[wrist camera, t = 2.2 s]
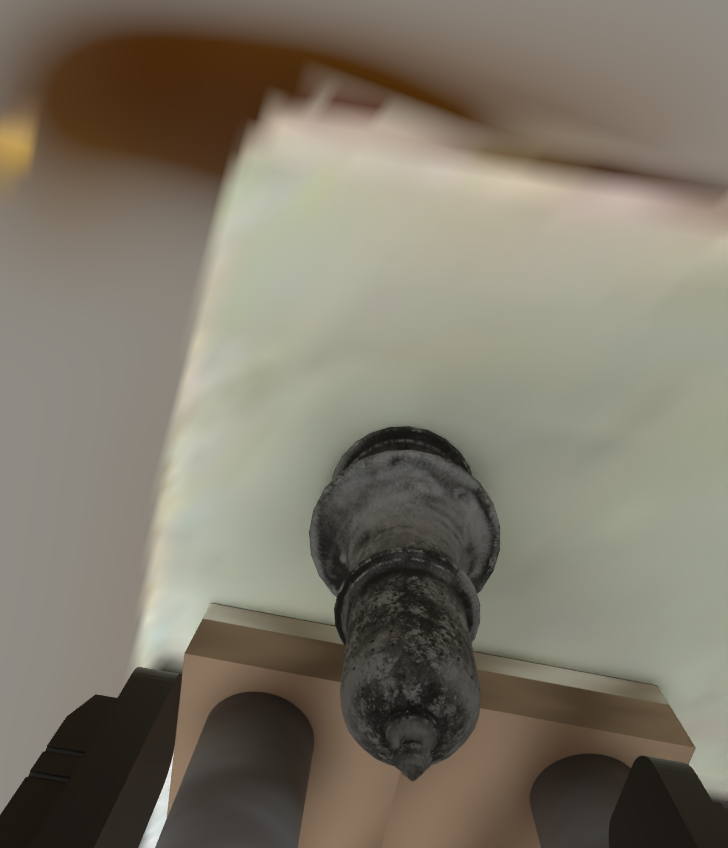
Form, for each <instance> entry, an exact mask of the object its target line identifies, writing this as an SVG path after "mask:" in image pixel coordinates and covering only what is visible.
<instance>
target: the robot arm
mask: <svg viewBox="0 0 728 848" xmlns="http://www.w3.org/2000/svg"><path fill="white" fill-rule="evenodd" d="M181 684H182V676H181V674H177V673H171V672H166V671H160V670H154V669H148V668H143V667H137V668H136V669H135V670H134V671H133V673H132V674H131V676H130V678H129V679H128V681H127V683H126V685H125V686H124V688H123V690H122V691H121V693H120V695H119V696H118V698H114V697H107V696H102V695H94V696H93V697H92V698H90V699H89V700H88V701H87V702H85V703H84V704H83V705H82V706H80V707H79V708H77V709H76V710H75V711H73V712H72V713H71V714H70V715H68V716H67V717H66V719H65V720H64V721H63V723H62V724H61V726H60V727H59V729H58V730H57V732H56V733H55V735H54V736H53V738H52V739H51V741H50V742H49V744H48V745H47V748H46V751H45V752H43V753H42V754H41V756H40V757H39V758H38V760H37V761H36V763H35V764H34V766H33V767H32V769H31V771H30V774H29V776H28V777H26V778H25V779H24V781H23V782H22V784H21V785H20V787H19V788H18V789H17V791H16V793H15V794H14V795H13V797H12V798H11V800H10V801H9V803H8V804H7V806H6V807H5V809H4V810H3V812H2V813H1V815H0V848H138V847H139V844H140V842H141V839H142V837H143V834H144V832H145V830H146V827H147V825H148V822H149V820H150V817H151V815H152V812H153V810H154V808H155V805H156V803H157V800H158V798H159V795H160V793H161V790H162V788H163V785H164V783H165V780H166V777H167V774H168V771H169V768H170V764H171V760H172V756H173V752H174V746H175V739H176V730H177V721H178V712H179V703H180V694H181ZM609 848H728V810H727V809H726V808H725V807H724V806H723V805H722V804H721V803H717V802H713V801H712V800H711V798H710V796H709V795H708V793H707V791H706V790H705V788H704V786H703V785H702V783H701V781H700V779H699V778H698V776H697V774H696V773H695V771H694V770H693V769H692V768H691V767H690V766H689V765H688V764H686V763H684V762H678V761H672V760H666V759H660V758H655V757H649V756H639V757H637V758H636V759H635V761H634V763H633V765H632V767H631V770H630V772H629V774H628V777H627V779H626V782H625V784H624V787H623V789H622V792H621V794H620V797H619V799H618V801H617V804H616V806H615V809H614V811H613V814H612V816H611V819H610V824H609Z"/></svg>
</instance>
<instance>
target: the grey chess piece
mask: <svg viewBox="0 0 728 848" xmlns="http://www.w3.org/2000/svg"><path fill="white" fill-rule="evenodd" d="M309 537H310V548H311V556H312V558H313V561H314V563H315V566H316V569H317V571H318V574H319V576H320V577H321V579H322V580H323V581H324V583H325V584H326V585H327V587H328V588H329V589H330V591H331V592H332V593H333V594H334V595H335V596H336V597H337V599H336V603H335V607H334V613H335V626H336V629H337V631H338V634H339V637H340V639H341V642H342V643H343V644H344V646H345V654H344V662H343V670H342V678H341V686H340V700H341V709H342V715H343V719H344V721H345V724H346V727H347V729H348V732H349V733H350V734H351V736H352V737H353V738H354V739H355V741H356V742H357V743H358V744H359V745H360V746H361V747H362V748H363V749H364V750H365V751H366V752H367V753H369V754H370V755H371V756H373V757H374V758H375V759H377V760H379V761H381V762H384V763H386V764H388V765H392V766H395V767H396V768H397V769H398V770H399V771H400V772H402V774H403V775H404V776H406V777H407V778H408V779H409V780H410V781H415V780H417V778H419V777H420V776H421V775H422V774H423V773H424V772H425V771H426V770H427V769H428V768H429V767H430V765H434V764H437V763H439V762H441V761H443V760H445V759H447V758H449V757H450V756H451V755H452V754H453V753H455V752H456V751H457V750H458V749H459V748H460V747H461V746H462V745H463V744H464V743H465V742H466V741H467V739H468V738H469V736H470V735H471V734H472V732H473V731H474V729H475V726H476V723H477V720H478V717H479V713H480V697H481V688H480V683H479V678H478V673H477V668H476V663H475V658H474V653H473V648H472V642H473V640H474V639H475V636H476V633H477V630H478V627H479V624H480V603H479V599H478V596H477V593H479V592H480V591H481V589H482V588H483V586H484V585H485V583H486V582H487V580H488V579H489V577H490V575H491V574H492V572H493V570H494V567H495V564H496V561H497V557H498V554H499V551H500V525H499V522H498V518H497V515H496V511H495V508H494V505H493V502H492V501H491V499H490V498H489V496H488V495H487V493H486V492H485V490H484V488H483V487H482V485H481V484H480V483H479V482H478V481H477V480H476V479H475V478H474V477H473V476H472V474H471V471H470V467H469V466H468V464H467V463H466V461H465V459H464V458H463V456H462V455H461V453H460V452H459V451H458V450H457V449H456V448H455V447H454V446H453V445H451V444H450V443H449V442H448V441H447V440H446V439H444V438H442V437H440V436H438V435H436V434H434V433H432V432H430V431H428V430H423V429H419V428H414V427H389V428H386V429H382V430H379V431H376V432H372V433H370V434H369V435H367V436H365V437H364V438H362V439H360V440H359V441H357V442H355V443H354V444H353V445H352V447H351V448H350V449H349V450H348V451H347V452H346V453H345V454H344V455H343V456H342V458H341V460H340V462H339V464H338V466H337V467H336V469H335V471H334V475H333V479H332V481H331V482H330V483H329V484H328V485H327V487H326V488H325V489H324V491H323V493H322V495H321V496H320V498H319V500H318V502H317V504H316V506H315V508H314V510H313V515H312V520H311V526H310V531H309Z"/></svg>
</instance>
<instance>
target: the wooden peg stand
mask: <svg viewBox="0 0 728 848" xmlns="http://www.w3.org/2000/svg"><path fill="white" fill-rule="evenodd" d="M473 653H474V658H475V663H476V668H477V673H478V678H479V683H480V688H481V697H480V713H479V717H478V720H477V723H476V726H475V729H474V731H473V732H472V734H471V735H470V736H469V738H468V739H467V741H466V742H465V743H464V744H463V745H462V746H461V747H460V748H459V749H458V750H457V751H456V752H455V753H453V754H452V755H451V756H450V757H449V758H447V759H445V760H443V761H441V762H439V763H437V764H434V765H430V767H429V768H428V769H427V770H426V771H425V772H424V773H423V774H422V775H421V776H420V777H419V778H417V780H415V781H410V780H409V779H408V778H407V777H406V776H404V775H403V774H402V772H400V771H399V770H398V769H397V768H396V767H395V766H392V765H388V764H386V763H384V762H381V761H379V760H377V759H375V758H374V757H373V756H371V755H370V754H369V753H367V752H366V751H365V750H364V749H363V748H362V747H361V746H360V745H359V744H358V743H357V742H356V741H355V739H354V738H353V737H352V736H351V734H350V733H349V732H348V729H347V727H346V724H345V721H344V719H343V715H342V709H341V700H340V686H341V678H342V670H343V662H344V654H345V646H344V644H343V643H342V642H341V639H340V637H339V634H338V631H337V629H336V626H330V625H325V624H320V623H314V622H309V621H303V620H298V619H293V618H287V617H282V616H276V615H271V614H266V613H260V612H255V611H249V610H244V609H239V608H233V607H228V606H222V605H217V604H212V603H211V604H210V606H209V608H208V610H207V612H206V613H205V615H204V617H203V619H202V621H201V623H200V625H199V627H198V629H197V631H196V633H195V635H194V636H193V638H192V640H191V642H190V644H189V646H188V648H187V650H186V652H185V655H184V664H183V673H182V684H181V694H180V703H179V712H178V721H177V730H176V739H175V747H174V757H173V766H172V775H171V784H170V794H169V803H168V812H167V820H166V822H165V825H164V827H163V830H162V832H161V835H160V837H159V840H158V842H157V845H156V847H155V848H609V824H610V819H611V816H612V814H613V811H614V809H615V806H616V804H617V801H618V799H619V797H620V794H621V792H622V789H623V787H624V784H625V782H626V779H627V777H628V774H629V772H630V770H631V767H632V765H633V763H634V761H635V759H636V758H637V757H639V756H649V757H655V758H660V759H666V760H672V761H678V762H684V763H686V764H689V762H690V760H691V757H692V755H693V753H694V750H695V746H694V744H693V743H692V741H691V740H690V738H689V736H688V735H687V733H686V731H685V730H684V728H683V727H682V725H681V723H680V722H679V720H678V718H677V717H676V715H675V714H674V712H673V710H672V709H671V707H670V705H669V704H668V702H667V700H666V699H665V697H664V696H663V694H662V692H661V691H660V689H659V687H658V686H654V685H649V684H644V683H638V682H633V681H627V680H622V679H617V678H611V677H606V676H600V675H595V674H590V673H584V672H579V671H573V670H568V669H563V668H557V667H552V666H546V665H541V664H536V663H530V662H525V661H519V660H514V659H509V658H503V657H498V656H492V655H487V654H482V653H476V652H473Z"/></svg>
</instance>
